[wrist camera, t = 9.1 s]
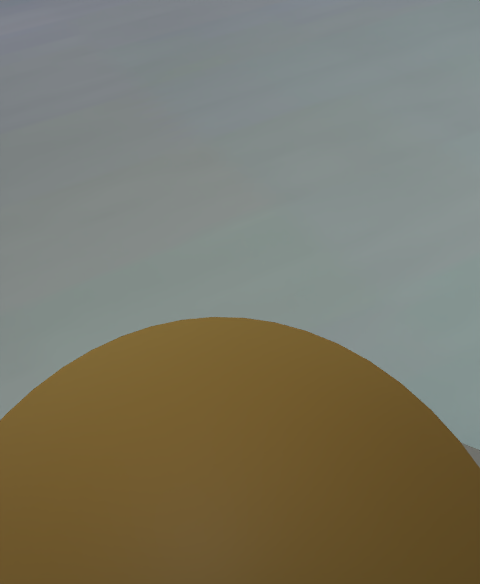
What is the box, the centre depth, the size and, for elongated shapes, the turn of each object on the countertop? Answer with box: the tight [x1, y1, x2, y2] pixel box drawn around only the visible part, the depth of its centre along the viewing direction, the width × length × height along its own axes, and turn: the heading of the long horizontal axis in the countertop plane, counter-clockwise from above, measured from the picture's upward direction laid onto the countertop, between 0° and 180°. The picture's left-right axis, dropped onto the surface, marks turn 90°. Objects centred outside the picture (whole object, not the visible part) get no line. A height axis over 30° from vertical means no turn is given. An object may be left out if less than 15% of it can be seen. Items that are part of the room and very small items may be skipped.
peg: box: [0, 317, 480, 584], centre depth 8 cm, size 4×4×12 cm
